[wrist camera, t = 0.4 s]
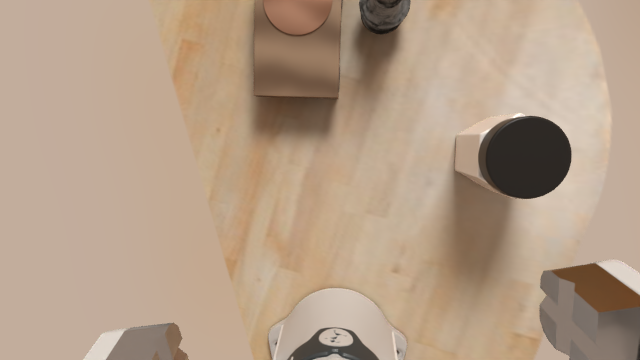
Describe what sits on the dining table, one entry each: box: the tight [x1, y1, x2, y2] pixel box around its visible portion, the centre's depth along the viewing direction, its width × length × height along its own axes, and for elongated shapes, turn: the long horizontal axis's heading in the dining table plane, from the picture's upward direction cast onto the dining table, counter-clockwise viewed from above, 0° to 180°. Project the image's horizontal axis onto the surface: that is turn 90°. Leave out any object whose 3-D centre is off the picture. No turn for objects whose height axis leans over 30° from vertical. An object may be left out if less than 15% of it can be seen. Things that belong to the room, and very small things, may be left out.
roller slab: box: [254, 0, 342, 99], centre depth 48 cm, size 15×10×5 cm, turn 178°
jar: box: [455, 113, 571, 199], centre depth 44 cm, size 9×8×12 cm
